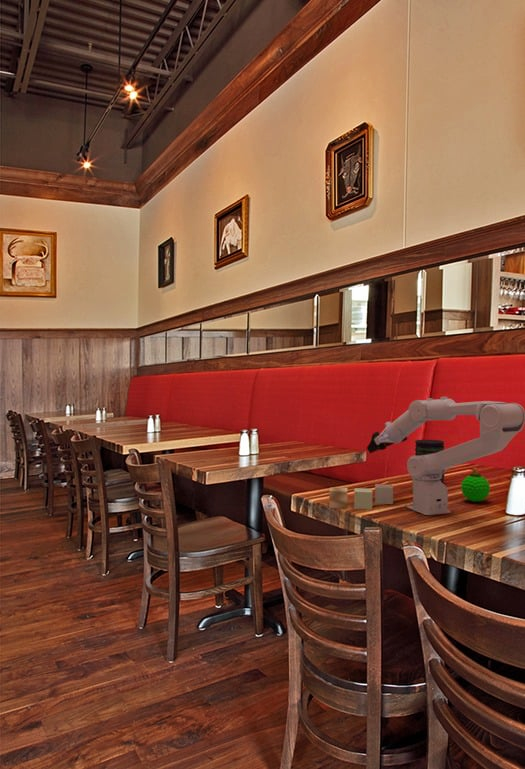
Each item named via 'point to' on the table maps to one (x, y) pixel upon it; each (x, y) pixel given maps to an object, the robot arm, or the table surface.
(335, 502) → the birch block
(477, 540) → the table surface
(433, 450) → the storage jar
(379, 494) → the white cube
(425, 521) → the table surface
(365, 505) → the sage block
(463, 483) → the ornament
